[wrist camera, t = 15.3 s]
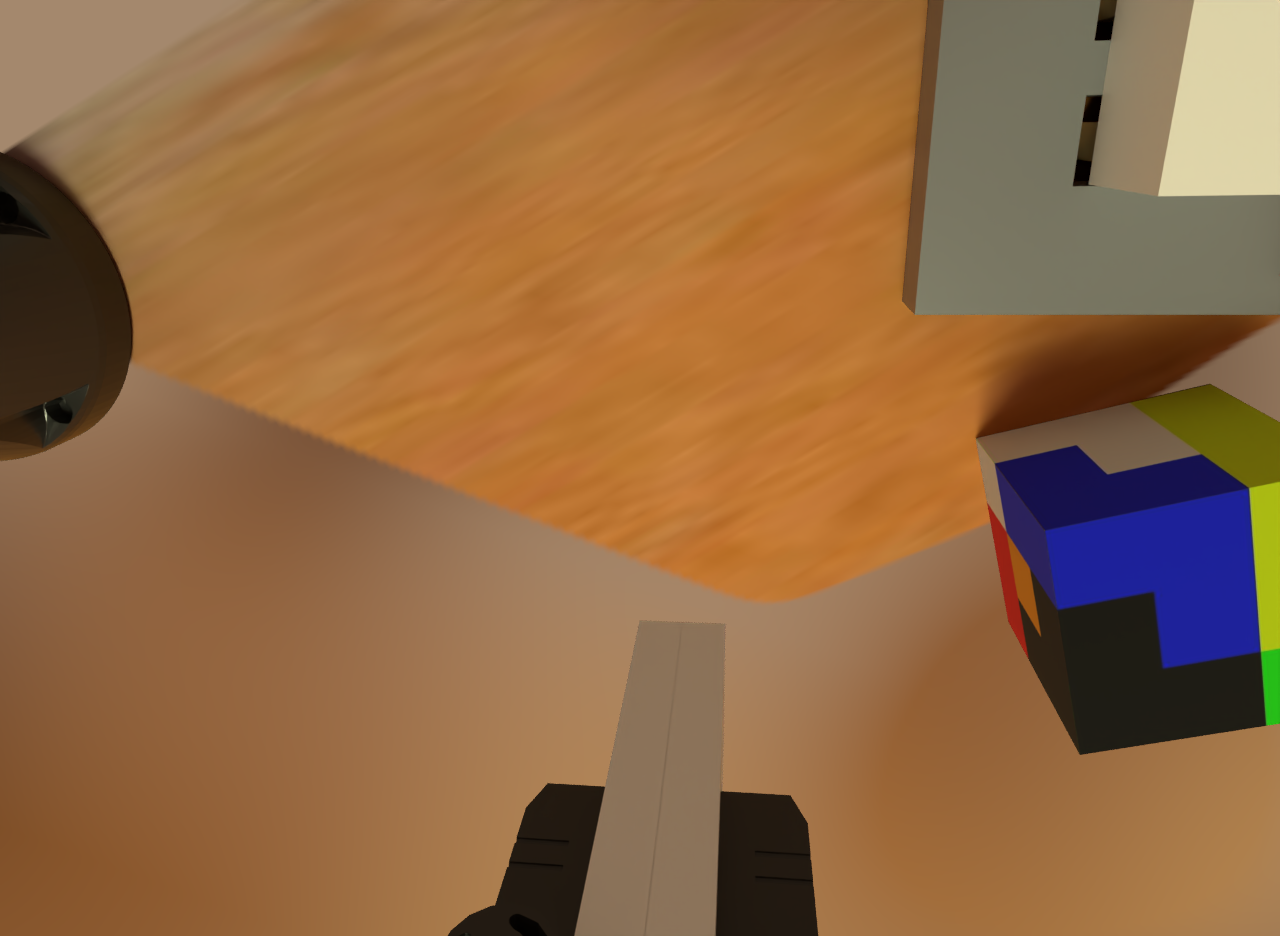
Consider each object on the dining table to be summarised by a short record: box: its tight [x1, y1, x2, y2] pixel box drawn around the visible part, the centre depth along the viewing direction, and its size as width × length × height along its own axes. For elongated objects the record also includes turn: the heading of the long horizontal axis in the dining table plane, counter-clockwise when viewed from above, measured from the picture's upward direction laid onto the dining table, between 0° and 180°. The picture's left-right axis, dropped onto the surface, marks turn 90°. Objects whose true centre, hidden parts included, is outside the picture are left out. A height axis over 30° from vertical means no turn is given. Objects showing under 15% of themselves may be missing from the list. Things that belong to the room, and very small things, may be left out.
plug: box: [1077, 0, 1280, 196], centre depth 30 cm, size 6×8×9 cm
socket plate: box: [902, 0, 1280, 315], centre depth 32 cm, size 18×18×4 cm
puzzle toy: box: [976, 384, 1280, 755], centre depth 36 cm, size 10×10×10 cm
